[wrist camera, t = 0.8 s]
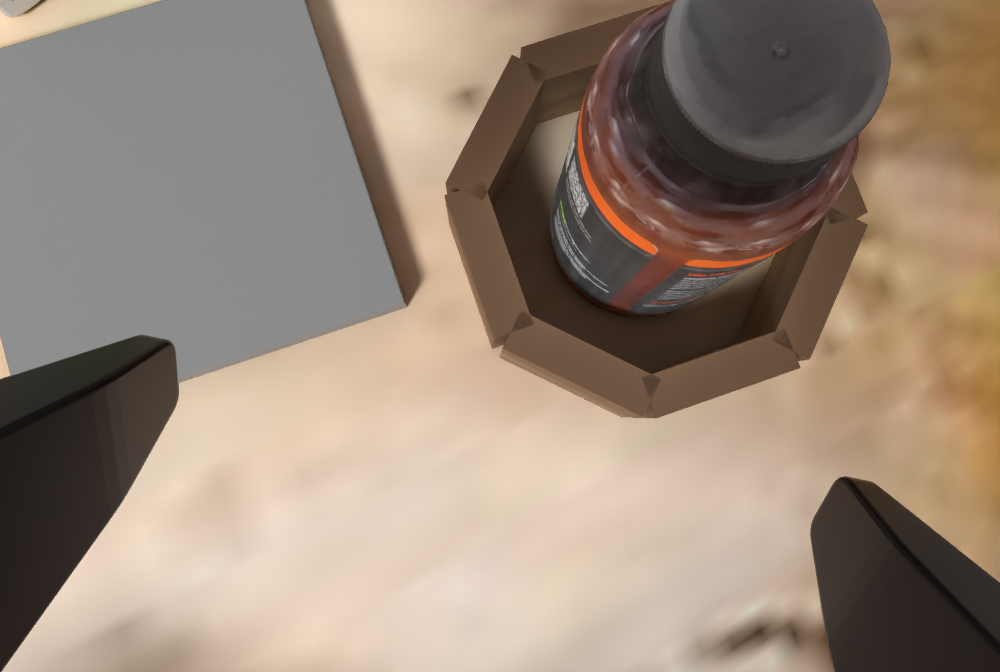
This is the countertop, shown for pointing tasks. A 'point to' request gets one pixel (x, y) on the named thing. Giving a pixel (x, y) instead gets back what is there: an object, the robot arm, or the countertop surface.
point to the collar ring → (572, 362)
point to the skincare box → (16, 7)
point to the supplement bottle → (712, 144)
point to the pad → (182, 188)
